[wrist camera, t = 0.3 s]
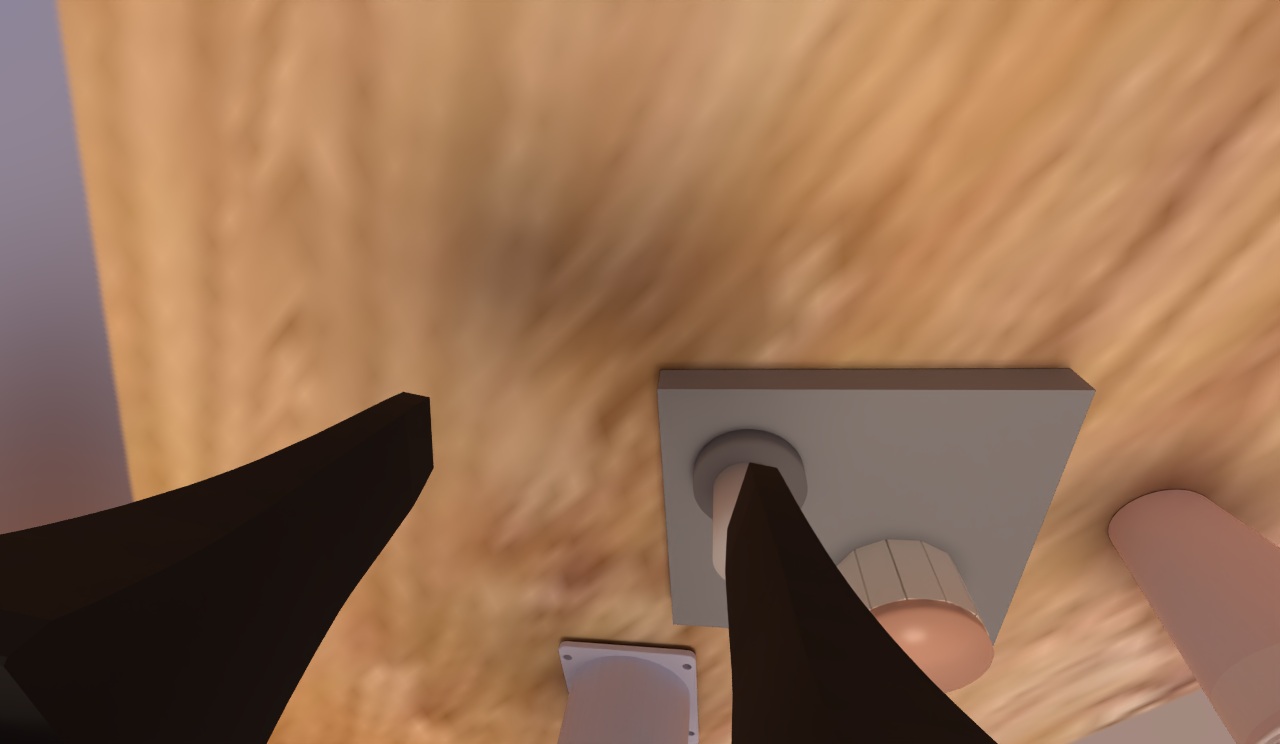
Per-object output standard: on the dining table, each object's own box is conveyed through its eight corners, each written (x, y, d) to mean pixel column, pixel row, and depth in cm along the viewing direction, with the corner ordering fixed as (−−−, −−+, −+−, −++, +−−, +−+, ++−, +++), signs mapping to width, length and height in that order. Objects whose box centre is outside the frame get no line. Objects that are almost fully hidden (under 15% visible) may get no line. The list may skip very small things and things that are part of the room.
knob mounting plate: (979, 617, 26) (1044, 752, 21) (675, 599, 28) (665, 717, 23) (1070, 368, 19) (1199, 478, 14) (660, 370, 22) (642, 465, 16)
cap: (944, 623, 25) (976, 700, 22) (826, 615, 25) (841, 689, 22) (969, 542, 22) (1009, 617, 19) (839, 537, 23) (857, 608, 20)
